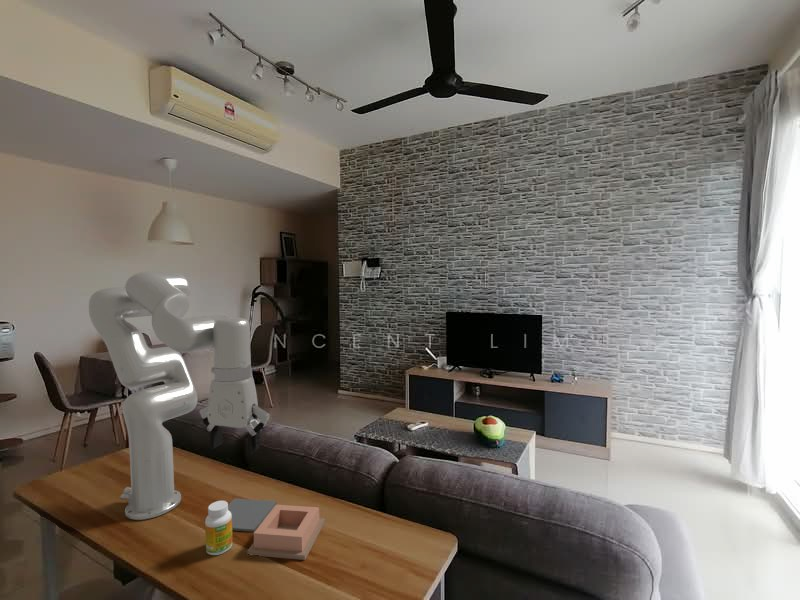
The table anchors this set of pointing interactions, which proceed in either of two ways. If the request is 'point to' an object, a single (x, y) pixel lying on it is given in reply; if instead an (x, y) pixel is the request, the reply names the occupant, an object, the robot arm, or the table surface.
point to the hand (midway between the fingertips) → (235, 448)
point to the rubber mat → (249, 513)
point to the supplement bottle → (218, 528)
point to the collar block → (287, 532)
